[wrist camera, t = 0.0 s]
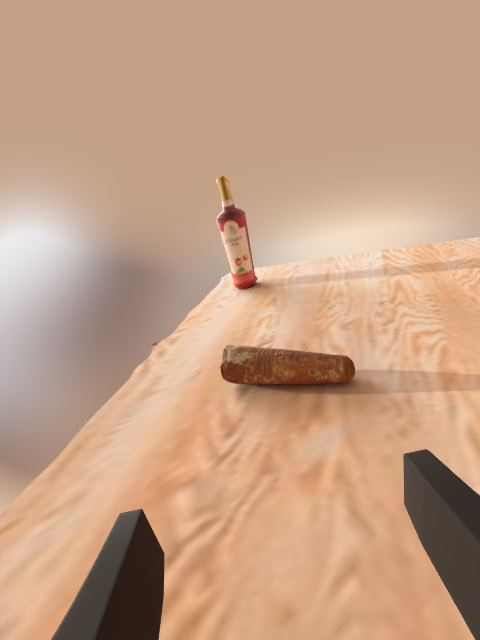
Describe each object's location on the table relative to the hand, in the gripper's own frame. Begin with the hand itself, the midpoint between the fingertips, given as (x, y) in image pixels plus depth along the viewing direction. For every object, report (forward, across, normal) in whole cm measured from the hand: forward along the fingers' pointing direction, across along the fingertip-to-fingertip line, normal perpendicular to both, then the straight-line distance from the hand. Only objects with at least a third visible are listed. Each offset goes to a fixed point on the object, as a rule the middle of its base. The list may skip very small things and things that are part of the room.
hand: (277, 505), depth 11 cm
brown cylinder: (+39, -4, +25) cm, 47 cm away
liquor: (+89, -1, +30) cm, 94 cm away
